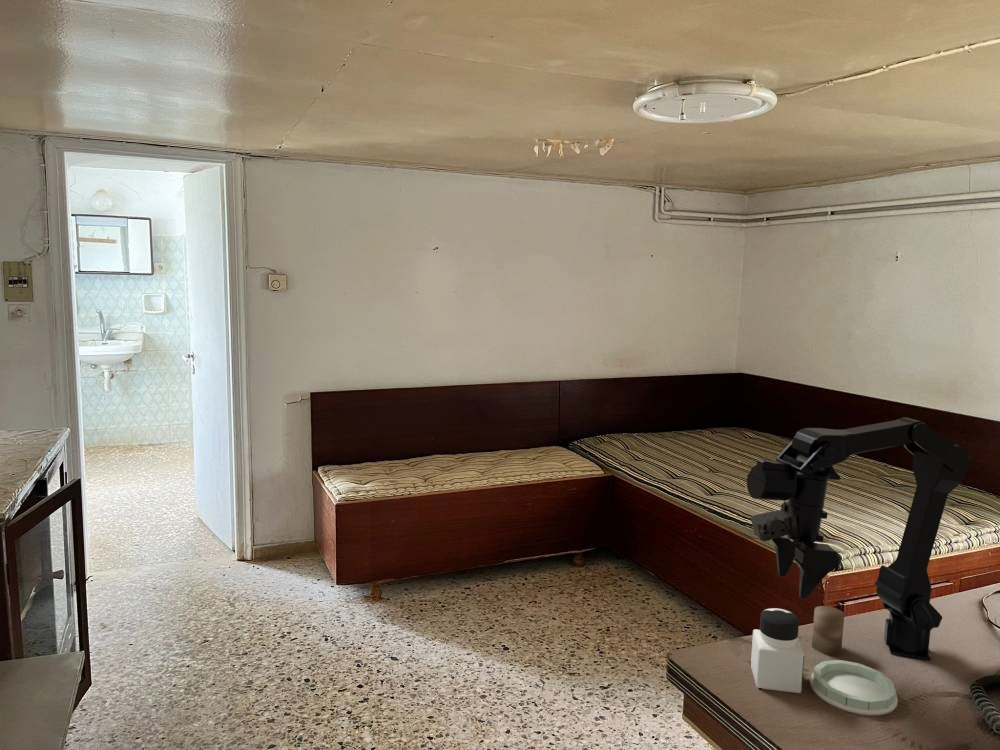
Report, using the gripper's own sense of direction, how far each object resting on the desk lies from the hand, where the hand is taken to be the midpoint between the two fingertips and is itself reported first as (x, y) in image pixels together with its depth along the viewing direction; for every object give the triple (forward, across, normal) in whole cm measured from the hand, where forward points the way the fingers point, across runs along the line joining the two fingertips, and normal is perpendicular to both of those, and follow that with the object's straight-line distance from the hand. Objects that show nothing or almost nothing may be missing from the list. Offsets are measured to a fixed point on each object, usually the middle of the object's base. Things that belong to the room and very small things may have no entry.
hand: (792, 586), depth 125 cm
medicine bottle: (+15, +6, -3) cm, 16 cm away
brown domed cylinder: (+13, -5, +10) cm, 17 cm away
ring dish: (+13, +10, +8) cm, 18 cm away
